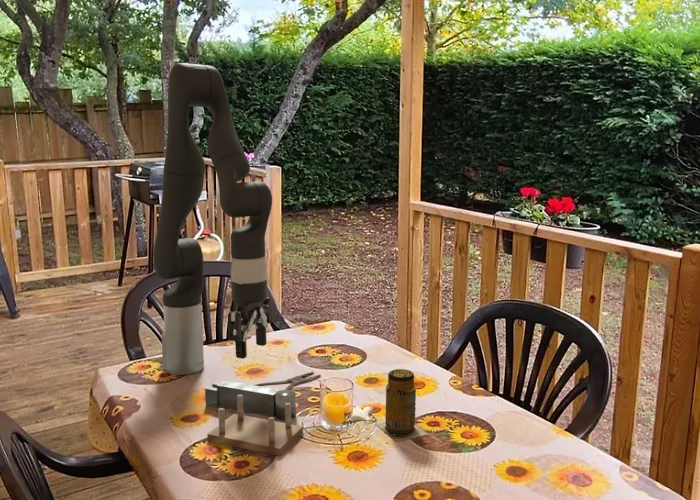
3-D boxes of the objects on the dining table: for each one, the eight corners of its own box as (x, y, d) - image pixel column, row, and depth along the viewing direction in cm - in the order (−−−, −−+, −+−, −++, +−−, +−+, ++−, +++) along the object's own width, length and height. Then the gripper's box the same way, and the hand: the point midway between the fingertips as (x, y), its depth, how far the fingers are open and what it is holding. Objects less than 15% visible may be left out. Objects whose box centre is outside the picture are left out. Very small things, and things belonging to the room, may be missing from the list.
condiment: (406, 418, 144) (407, 364, 142) (427, 435, 137) (429, 378, 135) (376, 425, 141) (376, 370, 139) (396, 442, 134) (397, 385, 131)
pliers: (235, 391, 157) (292, 366, 173) (235, 394, 157) (292, 369, 173) (266, 401, 152) (322, 374, 167) (266, 405, 152) (322, 377, 168)
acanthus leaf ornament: (341, 425, 142) (341, 417, 142) (339, 411, 149) (339, 403, 148) (377, 424, 143) (377, 415, 142) (373, 410, 149) (373, 402, 149)
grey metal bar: (205, 406, 150) (204, 384, 149) (216, 398, 154) (215, 377, 153) (290, 421, 143) (289, 399, 142) (299, 413, 147) (299, 391, 146)
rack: (207, 441, 134) (206, 410, 133) (234, 420, 143) (233, 391, 142) (279, 456, 128) (279, 423, 127) (302, 433, 137) (302, 403, 136)
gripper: (250, 269, 150) (252, 339, 153) (215, 283, 137) (218, 360, 140) (280, 271, 148) (282, 343, 151) (247, 286, 135) (250, 364, 138)
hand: (251, 351), depth 146 cm, fingers open, 8 cm apart
